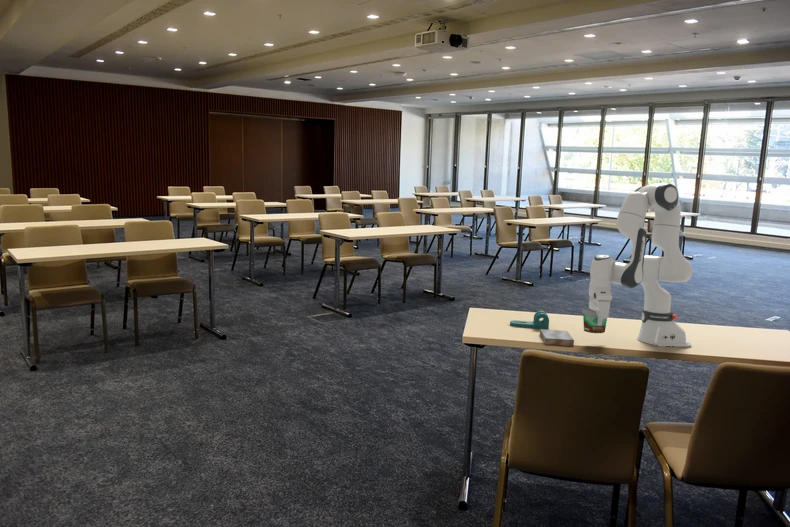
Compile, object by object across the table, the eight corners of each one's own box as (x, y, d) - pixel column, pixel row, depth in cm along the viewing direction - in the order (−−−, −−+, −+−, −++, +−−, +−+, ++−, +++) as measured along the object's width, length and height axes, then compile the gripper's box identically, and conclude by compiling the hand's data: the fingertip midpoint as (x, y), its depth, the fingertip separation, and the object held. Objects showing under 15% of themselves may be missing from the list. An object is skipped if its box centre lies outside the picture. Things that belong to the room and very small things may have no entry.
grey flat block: (566, 337, 278) (566, 330, 277) (573, 346, 262) (574, 339, 262) (539, 335, 279) (540, 329, 278) (545, 345, 263) (545, 338, 263)
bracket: (547, 327, 297) (548, 311, 296) (548, 330, 290) (549, 314, 289) (509, 324, 299) (510, 308, 298) (510, 327, 293) (511, 311, 292)
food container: (588, 334, 261) (589, 311, 260) (580, 331, 267) (582, 308, 266) (613, 333, 264) (615, 310, 263) (606, 329, 270) (607, 307, 269)
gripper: (586, 287, 274) (584, 317, 276) (597, 297, 254) (595, 329, 256) (600, 287, 273) (598, 317, 276) (613, 297, 253) (610, 329, 256)
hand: (597, 323), depth 266 cm, fingers closed on food container, 5 cm apart
